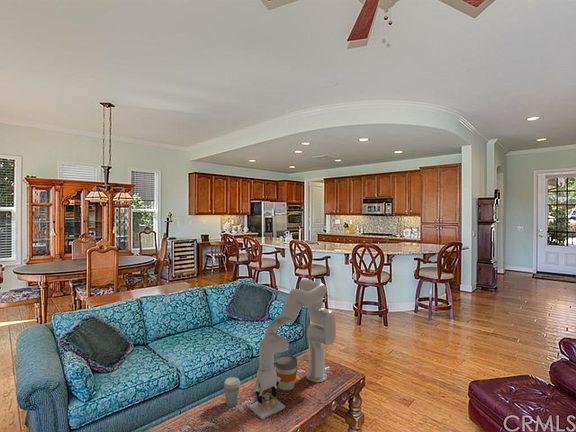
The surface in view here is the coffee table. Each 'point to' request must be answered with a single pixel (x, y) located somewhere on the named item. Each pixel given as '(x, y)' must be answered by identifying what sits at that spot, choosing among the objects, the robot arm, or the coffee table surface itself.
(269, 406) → the ring
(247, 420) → the coffee table surface
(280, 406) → the post block
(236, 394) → the coffee cup
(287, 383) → the reusable coffee cup
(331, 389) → the coffee table surface
